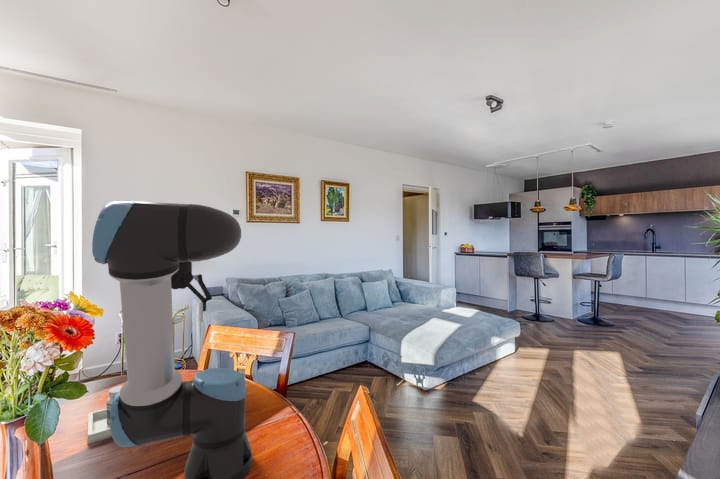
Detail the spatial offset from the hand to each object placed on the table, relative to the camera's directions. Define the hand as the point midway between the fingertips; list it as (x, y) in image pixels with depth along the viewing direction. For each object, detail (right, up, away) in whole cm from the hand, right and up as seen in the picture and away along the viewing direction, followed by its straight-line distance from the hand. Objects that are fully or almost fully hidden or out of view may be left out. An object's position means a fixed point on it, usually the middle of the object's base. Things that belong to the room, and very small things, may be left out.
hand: (178, 324), depth 108 cm
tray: (-12, -27, -11) cm, 31 cm away
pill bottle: (-11, -26, -12) cm, 31 cm away
